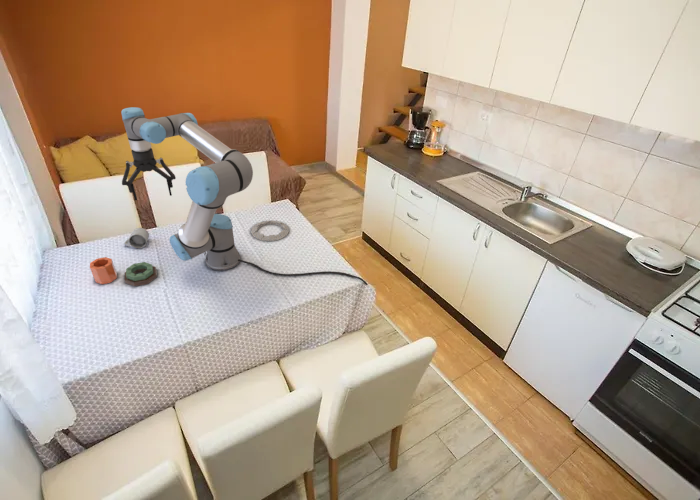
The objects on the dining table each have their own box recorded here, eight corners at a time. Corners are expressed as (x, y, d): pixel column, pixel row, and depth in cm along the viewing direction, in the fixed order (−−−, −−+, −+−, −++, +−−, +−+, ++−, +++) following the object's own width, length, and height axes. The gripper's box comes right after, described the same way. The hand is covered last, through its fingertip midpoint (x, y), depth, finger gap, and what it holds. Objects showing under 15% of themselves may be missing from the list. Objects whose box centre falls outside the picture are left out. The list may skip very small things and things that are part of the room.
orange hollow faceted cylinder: (121, 275, 163) (116, 260, 158) (106, 285, 157) (100, 270, 152) (106, 270, 165) (101, 255, 160) (91, 281, 158) (85, 265, 154)
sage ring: (158, 269, 164) (157, 266, 163) (140, 283, 157) (139, 279, 155) (140, 263, 167) (139, 260, 166) (121, 276, 159) (120, 272, 158)
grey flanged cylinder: (151, 238, 187) (147, 225, 182) (148, 247, 180) (144, 234, 176) (127, 240, 184) (122, 227, 180) (123, 250, 178) (118, 236, 173)
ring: (292, 224, 207) (292, 221, 206) (283, 243, 191) (283, 240, 190) (258, 219, 208) (258, 216, 207) (246, 238, 192) (245, 235, 191)
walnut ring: (162, 272, 166) (162, 269, 165) (141, 288, 157) (140, 285, 156) (141, 265, 169) (140, 261, 168) (119, 280, 160) (117, 277, 159)
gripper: (174, 142, 158) (183, 189, 171) (105, 148, 148) (120, 197, 161) (176, 149, 153) (185, 196, 165) (105, 155, 143) (120, 204, 155)
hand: (153, 196), depth 163 cm, fingers open, 13 cm apart
